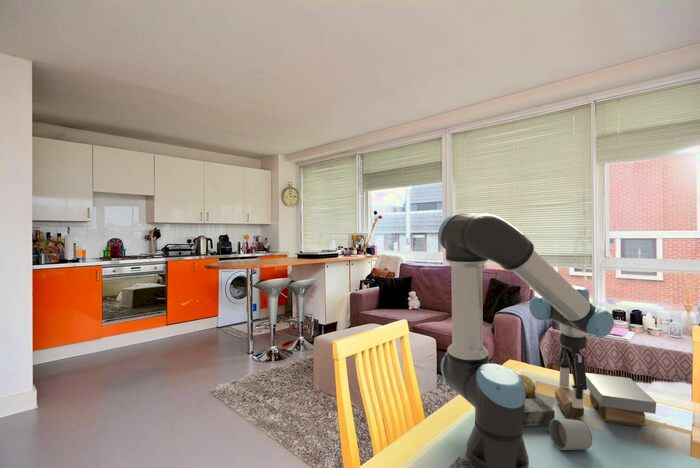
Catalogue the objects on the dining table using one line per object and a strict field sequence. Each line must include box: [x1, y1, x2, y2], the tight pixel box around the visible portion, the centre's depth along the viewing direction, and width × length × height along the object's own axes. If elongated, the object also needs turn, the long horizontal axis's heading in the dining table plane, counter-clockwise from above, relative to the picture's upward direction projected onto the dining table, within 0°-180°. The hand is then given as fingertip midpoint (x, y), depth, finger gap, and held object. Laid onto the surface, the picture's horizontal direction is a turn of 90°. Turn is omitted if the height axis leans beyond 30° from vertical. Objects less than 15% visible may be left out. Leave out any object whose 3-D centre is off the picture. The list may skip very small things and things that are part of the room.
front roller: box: [598, 404, 646, 427], centre depth 112 cm, size 6×10×6 cm, turn 74°
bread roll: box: [518, 374, 536, 399], centre depth 127 cm, size 13×10×8 cm
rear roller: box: [589, 391, 599, 409], centre depth 120 cm, size 6×10×6 cm, turn 74°
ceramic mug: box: [548, 418, 593, 451], centre depth 101 cm, size 11×8×8 cm
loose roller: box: [554, 386, 585, 421], centre depth 118 cm, size 6×10×6 cm, turn 164°
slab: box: [585, 372, 657, 415], centre depth 116 cm, size 14×16×4 cm
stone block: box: [523, 397, 556, 428], centre depth 113 cm, size 9×14×5 cm, turn 93°
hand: (570, 396), depth 118 cm, fingers open, 13 cm apart
